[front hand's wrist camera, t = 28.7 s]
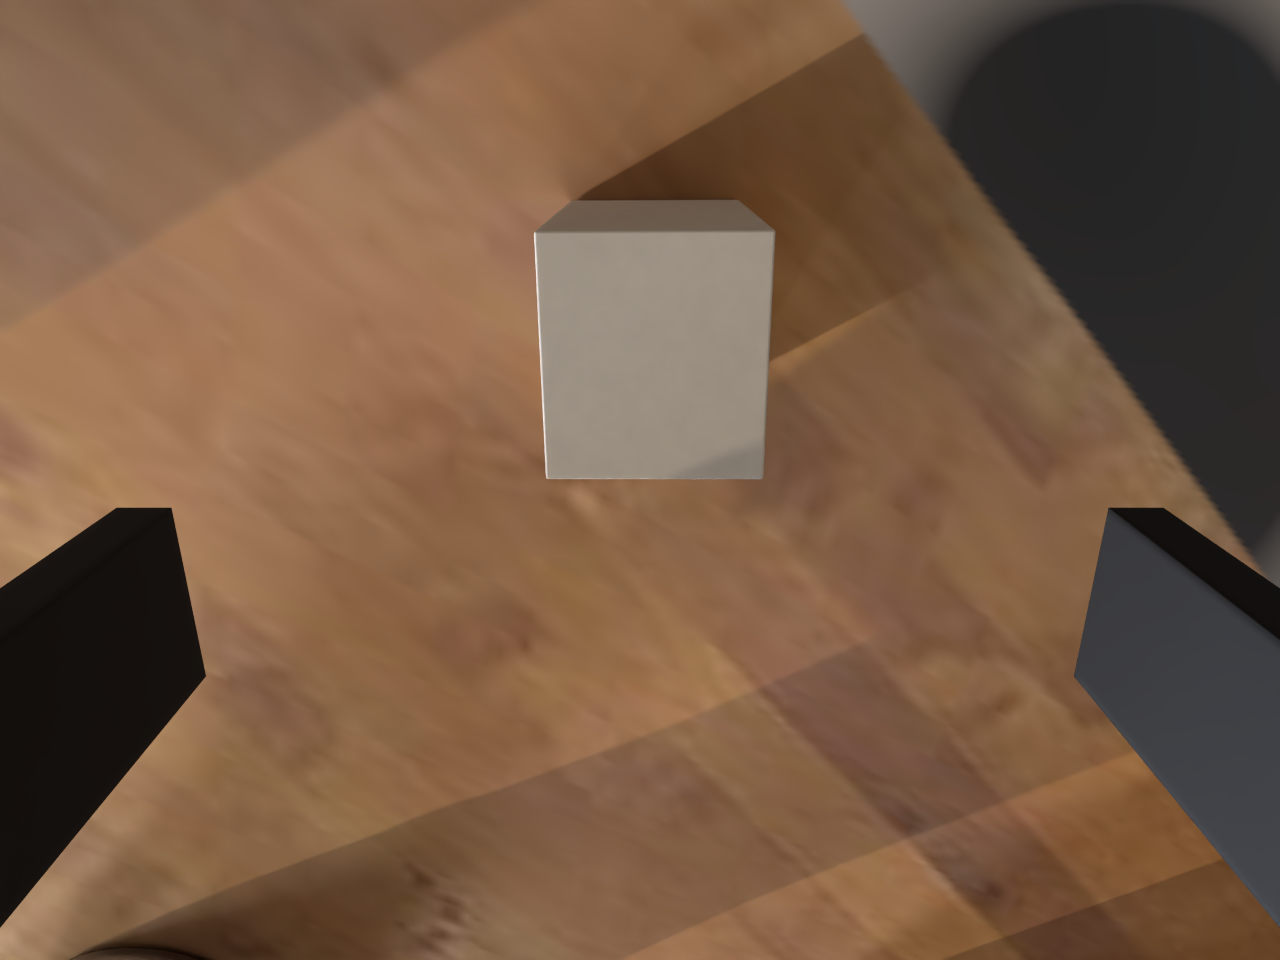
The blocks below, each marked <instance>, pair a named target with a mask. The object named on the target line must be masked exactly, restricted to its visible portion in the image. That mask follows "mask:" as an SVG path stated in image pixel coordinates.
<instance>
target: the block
mask: <svg viewBox="0 0 1280 960" xmlns="http://www.w3.org/2000/svg"><path fill="white" fill-rule="evenodd" d="M775 233H776V232H775V230H774V229H772V228H771V227H770V226H769V225H768V224H767V223H765V222H764V221H763V220H762V219H761V218H759V217H758V216H757V215H756V214H755V213H753V212H752V211H751V210H750V209H749V208H747V207H746V206H745V205H744V204H743V203H741V202H740V201H739V200H583V201H571V202H569V203H568V204H567V205H566V206H565V207H563V208H562V209H561V210H560V211H559V212H557V213H556V214H555V215H554V216H553V217H552V218H550V219H549V220H548V221H547V222H546V223H544V224H543V225H542V226H541V227H540V228H538V229H537V230H536V231H535V232H534V241H535V262H536V282H537V303H538V323H539V344H540V364H541V384H542V405H543V425H544V446H545V466H546V478H547V479H763V476H764V456H765V435H766V415H767V395H768V375H769V354H770V334H771V314H772V293H773V273H774V253H775Z"/></svg>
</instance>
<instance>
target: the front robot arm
mask: <svg viewBox="0 0 1280 960" xmlns="http://www.w3.org/2000/svg"><path fill="white" fill-rule="evenodd" d="M205 677H206V674H205V669H204V664H203V659H202V655H201V650H200V645H199V640H198V635H197V630H196V625H195V621H194V616H193V611H192V606H191V601H190V596H189V591H188V586H187V582H186V577H185V572H184V567H183V562H182V557H181V552H180V547H179V543H178V538H177V533H176V528H175V523H174V518H173V513H172V509H171V508H116V509H114V510H113V511H111V512H110V513H108V514H107V515H106V516H104V517H103V518H101V519H100V520H98V521H97V522H95V523H94V524H93V525H91V526H90V527H88V528H87V529H85V530H84V531H82V532H81V533H80V534H78V535H77V536H75V537H74V538H72V539H71V540H69V541H68V542H67V543H65V544H64V545H62V546H61V547H59V548H58V549H56V550H55V551H54V552H52V553H51V554H49V555H48V556H46V557H45V558H43V559H42V560H41V561H39V562H38V563H36V564H35V565H33V566H32V567H30V568H29V569H28V570H26V571H25V572H23V573H22V574H20V575H19V576H17V577H16V578H15V579H13V580H12V581H10V582H9V583H7V584H6V585H4V586H3V587H2V588H0V927H1V926H2V925H3V924H4V922H5V921H6V920H7V919H8V917H9V916H10V915H11V914H12V913H13V911H14V910H15V909H16V908H17V906H18V905H19V904H20V903H21V902H22V900H23V899H24V898H25V897H26V895H27V894H28V893H29V892H30V891H31V889H32V888H33V887H34V886H35V884H36V883H37V882H38V881H39V880H40V878H41V877H42V876H43V875H44V873H45V872H46V871H47V870H48V869H49V867H50V866H51V865H52V864H53V863H54V861H55V860H56V859H57V858H58V856H59V855H60V854H61V853H62V852H63V850H64V849H65V848H66V847H67V845H68V844H69V843H70V842H71V841H72V839H73V838H74V837H75V836H76V834H77V833H78V832H79V831H80V830H81V828H82V827H83V826H84V825H85V823H86V822H87V821H88V820H89V819H90V817H91V816H92V815H93V814H94V812H95V811H96V810H97V809H98V808H99V806H100V805H101V804H102V803H103V801H104V800H105V799H106V798H107V797H108V795H109V794H110V793H111V792H112V790H113V789H114V788H115V787H116V786H117V784H118V783H119V782H120V781H121V779H122V778H123V777H124V776H125V775H126V773H127V772H128V771H129V770H130V768H131V767H132V766H133V765H134V764H135V762H136V761H137V760H138V759H139V757H140V756H141V755H142V754H143V753H144V751H145V750H146V749H147V748H148V746H149V745H150V744H151V743H152V742H153V740H154V739H155V738H156V737H157V735H158V734H159V733H160V732H161V731H162V729H163V728H164V727H165V726H166V724H167V723H168V722H169V721H170V720H171V718H172V717H173V716H174V715H175V713H176V712H177V711H178V710H179V709H180V707H181V706H182V705H183V704H184V702H185V701H186V700H187V699H188V698H189V696H190V695H191V694H192V693H193V691H194V690H195V689H196V688H197V687H198V685H199V684H200V683H201V682H202V680H203V679H204V678H205ZM1074 677H1075V678H1076V679H1077V680H1078V682H1079V683H1080V684H1081V685H1082V687H1083V688H1084V689H1085V690H1086V691H1087V693H1088V694H1089V695H1090V696H1091V698H1092V699H1093V700H1094V701H1095V702H1096V704H1097V705H1098V706H1099V707H1100V709H1101V710H1102V711H1103V712H1104V713H1105V715H1106V716H1107V717H1108V718H1109V720H1110V721H1111V722H1112V723H1113V724H1114V726H1115V727H1116V728H1117V729H1118V731H1119V732H1120V733H1121V734H1122V735H1123V737H1124V738H1125V739H1126V740H1127V742H1128V743H1129V744H1130V745H1131V746H1132V748H1133V749H1134V750H1135V751H1136V753H1137V754H1138V755H1139V756H1140V757H1141V759H1142V760H1143V761H1144V762H1145V764H1146V765H1147V766H1148V767H1149V768H1150V770H1151V771H1152V772H1153V773H1154V775H1155V776H1156V777H1157V778H1158V779H1159V781H1160V782H1161V783H1162V784H1163V786H1164V787H1165V788H1166V789H1167V790H1168V792H1169V793H1170V794H1171V795H1172V797H1173V798H1174V799H1175V800H1176V801H1177V803H1178V804H1179V805H1180V806H1181V808H1182V809H1183V810H1184V811H1185V812H1186V814H1187V815H1188V816H1189V817H1190V819H1191V820H1192V821H1193V822H1194V823H1195V825H1196V826H1197V827H1198V828H1199V830H1200V831H1201V832H1202V833H1203V834H1204V836H1205V837H1206V838H1207V839H1208V841H1209V842H1210V843H1211V844H1212V845H1213V847H1214V848H1215V849H1216V850H1217V852H1218V853H1219V854H1220V855H1221V856H1222V858H1223V859H1224V860H1225V861H1226V863H1227V864H1228V865H1229V866H1230V867H1231V869H1232V870H1233V871H1234V872H1235V874H1236V875H1237V876H1238V877H1239V878H1240V880H1241V881H1242V882H1243V883H1244V885H1245V886H1246V887H1247V888H1248V889H1249V891H1250V892H1251V893H1252V894H1253V895H1254V897H1255V898H1256V899H1257V900H1258V902H1259V903H1260V904H1261V905H1262V906H1263V908H1264V909H1265V910H1266V911H1267V913H1268V914H1269V915H1270V916H1271V917H1272V919H1273V920H1274V921H1275V922H1276V924H1277V925H1278V926H1279V927H1280V588H1278V587H1277V586H1276V585H1274V584H1273V583H1271V582H1270V581H1268V580H1267V579H1265V578H1264V577H1263V576H1261V575H1260V574H1258V573H1257V572H1255V571H1254V570H1252V569H1251V568H1250V567H1248V566H1247V565H1245V564H1244V563H1242V562H1241V561H1239V560H1238V559H1237V558H1235V557H1234V556H1232V555H1231V554H1229V553H1228V552H1226V551H1225V550H1224V549H1222V548H1221V547H1219V546H1218V545H1216V544H1215V543H1213V542H1212V541H1211V540H1209V539H1208V538H1206V537H1205V536H1203V535H1202V534H1200V533H1199V532H1198V531H1196V530H1195V529H1193V528H1192V527H1190V526H1189V525H1187V524H1186V523H1185V522H1183V521H1182V520H1180V519H1179V518H1177V517H1176V516H1174V515H1173V514H1172V513H1170V512H1169V511H1167V510H1166V509H1164V508H1108V513H1107V518H1106V523H1105V528H1104V533H1103V538H1102V543H1101V547H1100V552H1099V557H1098V562H1097V567H1096V572H1095V577H1094V582H1093V586H1092V591H1091V596H1090V601H1089V606H1088V611H1087V616H1086V621H1085V625H1084V630H1083V635H1082V640H1081V645H1080V650H1079V655H1078V659H1077V664H1076V669H1075V674H1074ZM71 960H198V959H195V958H192V957H189V956H185V955H182V954H178V953H173V952H168V951H162V950H156V949H145V948H116V949H107V950H100V951H96V952H91V953H87V954H84V955H81V956H78V957H75V958H73V959H71Z"/></svg>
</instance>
